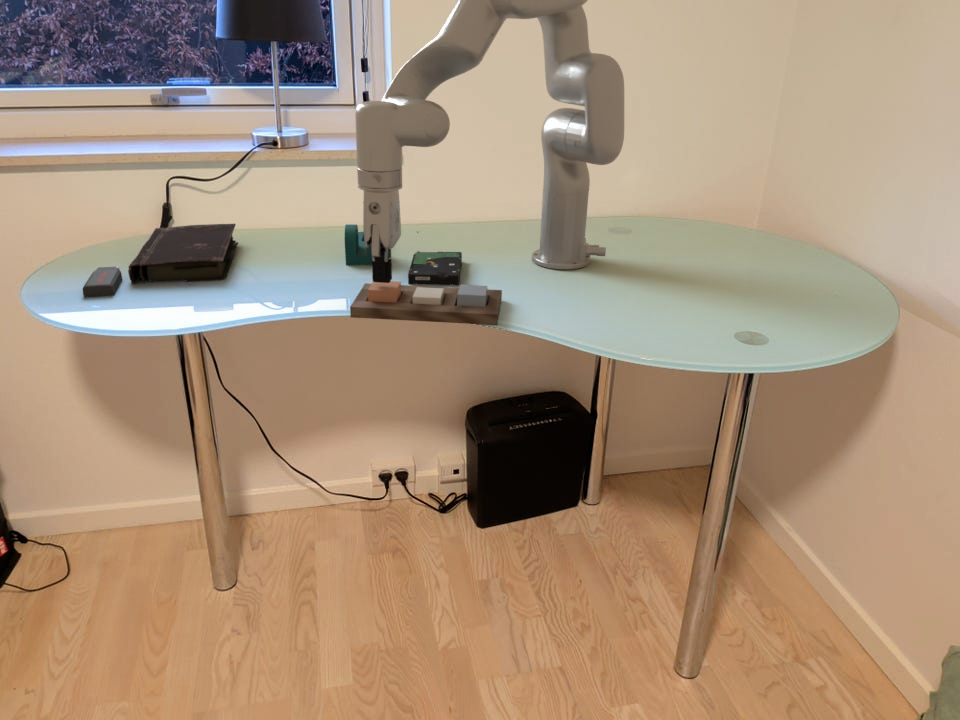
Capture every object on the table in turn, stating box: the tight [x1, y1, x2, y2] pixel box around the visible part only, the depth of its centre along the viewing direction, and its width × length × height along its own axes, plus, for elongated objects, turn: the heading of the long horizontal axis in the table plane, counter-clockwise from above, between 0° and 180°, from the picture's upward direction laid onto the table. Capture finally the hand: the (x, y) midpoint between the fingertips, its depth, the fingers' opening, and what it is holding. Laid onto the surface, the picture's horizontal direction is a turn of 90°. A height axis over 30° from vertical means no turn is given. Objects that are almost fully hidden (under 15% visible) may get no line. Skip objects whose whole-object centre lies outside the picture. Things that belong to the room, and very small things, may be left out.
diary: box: [127, 223, 239, 285], centre depth 156 cm, size 19×25×5 cm
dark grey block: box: [82, 266, 123, 298], centre depth 143 cm, size 5×12×3 cm, turn 14°
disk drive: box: [407, 251, 463, 286], centre depth 154 cm, size 10×3×15 cm
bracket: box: [344, 223, 372, 266], centre depth 164 cm, size 18×7×8 cm, turn 4°
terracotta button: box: [368, 280, 402, 303], centre depth 136 cm, size 5×5×3 cm
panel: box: [349, 282, 503, 326], centre depth 136 cm, size 26×12×2 cm, turn 85°
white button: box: [412, 287, 444, 305], centre depth 136 cm, size 5×5×3 cm
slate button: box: [457, 284, 488, 307], centre depth 135 cm, size 5×5×3 cm
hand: (382, 280), depth 135 cm, fingers closed
